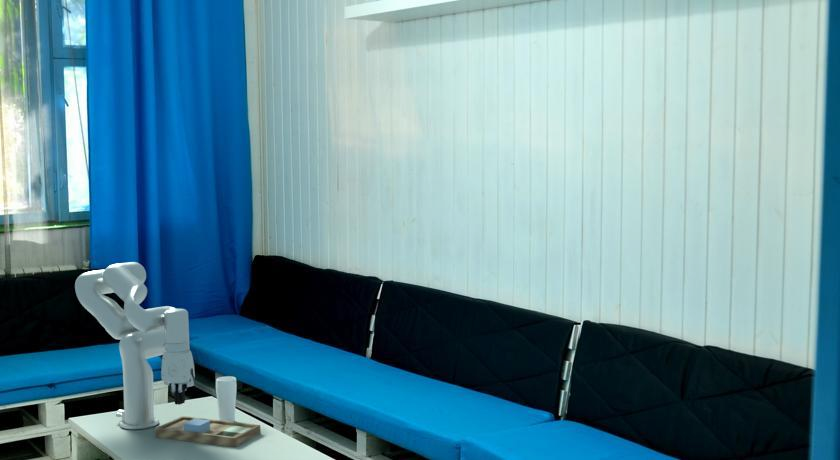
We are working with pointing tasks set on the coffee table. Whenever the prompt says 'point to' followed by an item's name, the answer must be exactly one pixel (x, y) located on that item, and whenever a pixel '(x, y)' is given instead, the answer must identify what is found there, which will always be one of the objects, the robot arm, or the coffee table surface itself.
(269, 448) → the coffee table surface
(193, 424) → the block
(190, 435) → the box
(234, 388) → the drinking glass
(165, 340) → the robot arm
